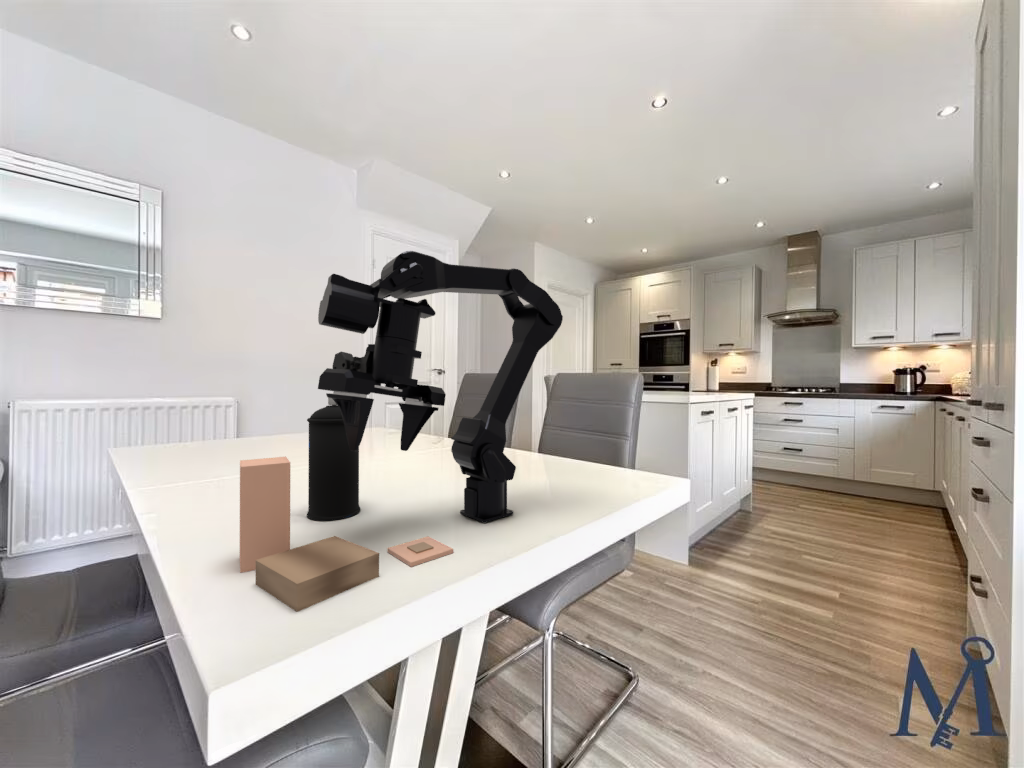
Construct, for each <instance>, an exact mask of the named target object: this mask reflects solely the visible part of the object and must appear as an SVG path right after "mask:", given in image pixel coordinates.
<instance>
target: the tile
mask: <svg viewBox="0 0 1024 768" xmlns="http://www.w3.org/2000/svg"><path fill="white" fill-rule="evenodd" d="M386 549H387V550H386V551H387V553H388V554H390V555H391V556H393V557H395V558H396V559H398V560H399V561H400V562H403V563H404V564H406V565H407V566H408V567H411V568H412V567H415V566H418V565H421V564H424V563H427V562H430V561H434V560H436V559H438V558H442V557H444V556H445V557H446V556H448V555H451V554H453V553H454V548H452V547H451V546H449V545H447V544H444V543H442V542H441V541H438V540H437V539H436V538H432V537H431V536H428V535H427V536H424V537H421V538H418V539H413V540H410V541H407V542H404V543H400V544H396V545H393V546H388V547H386Z"/></svg>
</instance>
